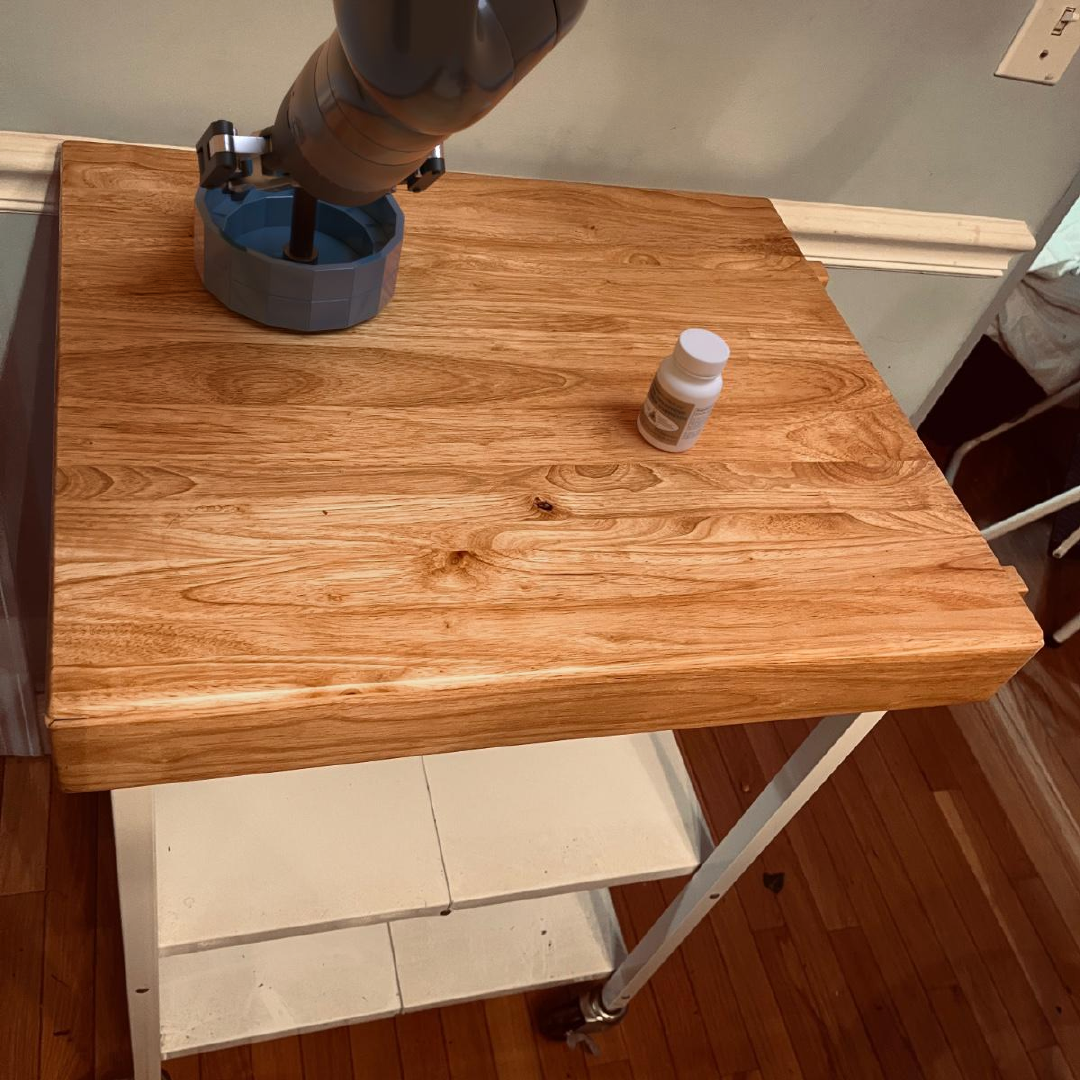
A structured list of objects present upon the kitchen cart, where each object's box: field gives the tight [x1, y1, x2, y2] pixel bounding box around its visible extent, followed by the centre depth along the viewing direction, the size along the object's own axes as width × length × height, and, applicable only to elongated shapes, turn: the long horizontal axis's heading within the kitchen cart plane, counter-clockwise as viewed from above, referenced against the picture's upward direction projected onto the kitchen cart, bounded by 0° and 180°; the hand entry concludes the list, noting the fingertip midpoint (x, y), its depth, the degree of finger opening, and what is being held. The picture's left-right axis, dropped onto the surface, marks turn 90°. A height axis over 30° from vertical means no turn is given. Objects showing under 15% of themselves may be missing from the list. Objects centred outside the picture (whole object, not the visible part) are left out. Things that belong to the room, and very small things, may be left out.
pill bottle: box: [636, 327, 731, 453], centre depth 71 cm, size 4×4×8 cm
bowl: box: [193, 158, 406, 332], centre depth 73 cm, size 14×14×6 cm
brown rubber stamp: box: [282, 188, 318, 265], centre depth 72 cm, size 2×2×9 cm
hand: (299, 186), depth 72 cm, fingers open, 8 cm apart
